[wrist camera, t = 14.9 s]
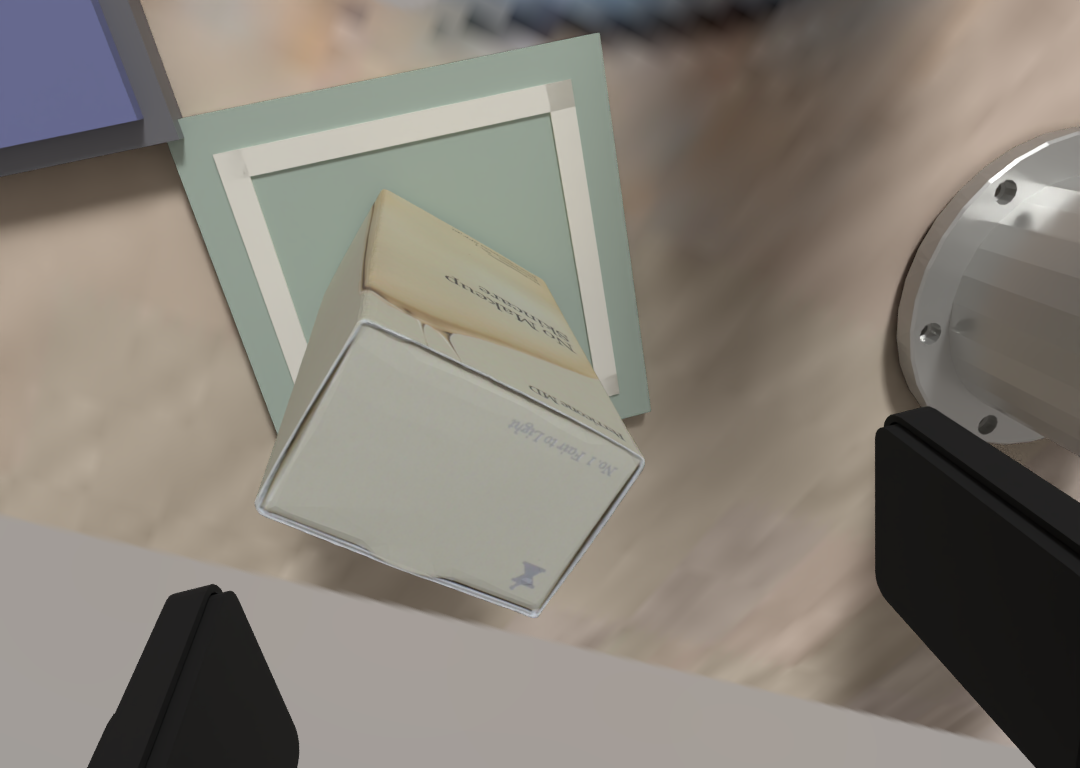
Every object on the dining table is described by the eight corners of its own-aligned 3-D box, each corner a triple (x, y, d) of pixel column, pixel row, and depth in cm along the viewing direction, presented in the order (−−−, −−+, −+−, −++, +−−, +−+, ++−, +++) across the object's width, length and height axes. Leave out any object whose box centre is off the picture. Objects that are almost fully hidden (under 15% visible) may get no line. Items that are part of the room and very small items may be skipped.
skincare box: (546, 278, 25) (668, 458, 14) (479, 386, 26) (544, 629, 15) (375, 181, 23) (363, 305, 12) (310, 303, 24) (246, 518, 13)
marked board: (594, 33, 23) (600, 32, 23) (645, 404, 29) (652, 412, 28) (165, 121, 22) (158, 123, 21) (304, 494, 27) (303, 504, 27)
